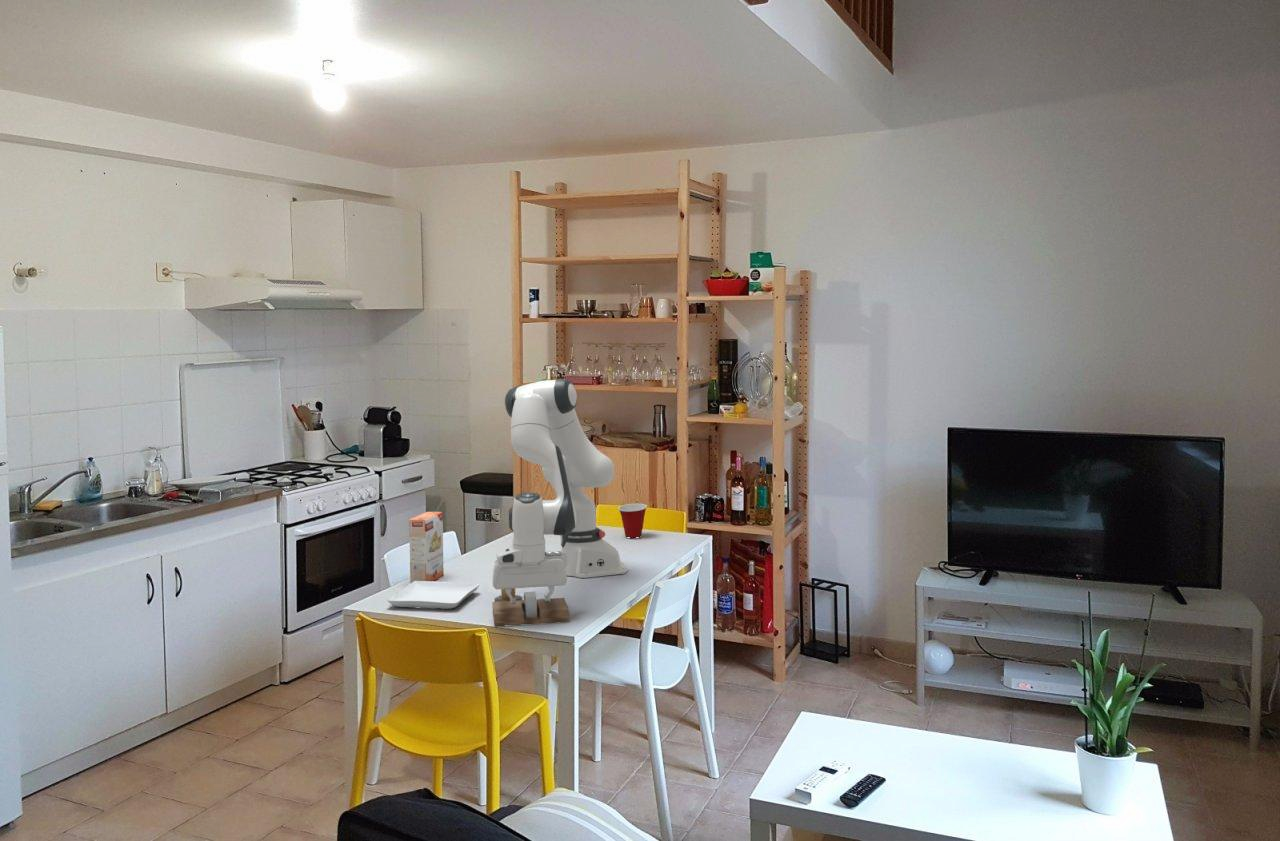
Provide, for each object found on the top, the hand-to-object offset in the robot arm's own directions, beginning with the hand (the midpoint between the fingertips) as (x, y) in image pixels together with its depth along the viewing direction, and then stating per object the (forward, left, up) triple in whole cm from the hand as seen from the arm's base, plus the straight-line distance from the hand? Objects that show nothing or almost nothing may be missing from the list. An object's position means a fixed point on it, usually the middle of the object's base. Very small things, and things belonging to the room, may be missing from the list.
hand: (530, 602), depth 283 cm
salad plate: (+26, -25, -5) cm, 36 cm away
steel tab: (0, 0, -4) cm, 4 cm away
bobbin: (+5, -17, -5) cm, 18 cm away
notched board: (0, -1, -5) cm, 5 cm away
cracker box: (+28, -50, -5) cm, 58 cm away
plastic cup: (-46, -97, -5) cm, 107 cm away
